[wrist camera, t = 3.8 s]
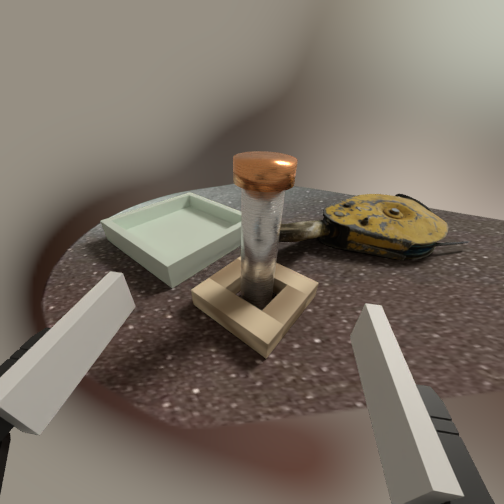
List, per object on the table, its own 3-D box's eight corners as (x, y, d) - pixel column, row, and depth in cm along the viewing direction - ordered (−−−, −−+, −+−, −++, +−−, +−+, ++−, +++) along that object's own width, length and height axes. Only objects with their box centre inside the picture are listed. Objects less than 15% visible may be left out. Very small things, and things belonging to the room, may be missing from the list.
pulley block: (250, 187, 33) (416, 180, 40) (247, 219, 37) (399, 209, 44) (278, 252, 24) (494, 230, 30) (271, 286, 28) (462, 261, 34)
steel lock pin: (285, 298, 24) (308, 158, 16) (260, 325, 21) (274, 170, 13) (252, 280, 26) (258, 149, 18) (225, 302, 23) (219, 157, 15)
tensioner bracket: (314, 296, 24) (318, 282, 23) (266, 358, 18) (268, 344, 17) (249, 263, 29) (249, 250, 27) (193, 304, 23) (191, 289, 22)
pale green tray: (256, 235, 34) (257, 217, 33) (172, 288, 24) (167, 266, 23) (192, 208, 42) (189, 192, 40) (107, 239, 32) (100, 220, 30)
